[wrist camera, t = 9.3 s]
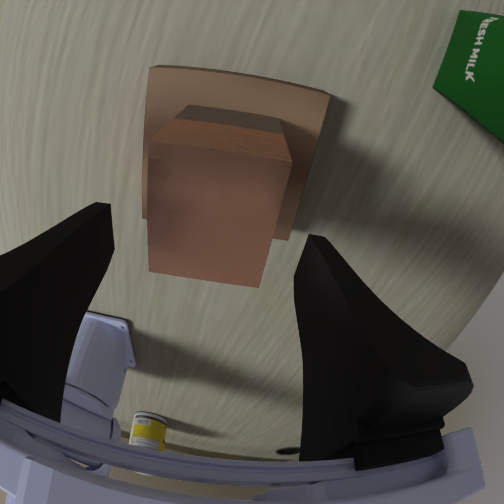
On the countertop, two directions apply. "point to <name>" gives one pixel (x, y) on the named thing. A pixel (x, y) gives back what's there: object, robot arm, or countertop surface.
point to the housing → (215, 194)
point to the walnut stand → (246, 100)
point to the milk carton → (476, 69)
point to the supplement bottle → (148, 431)
